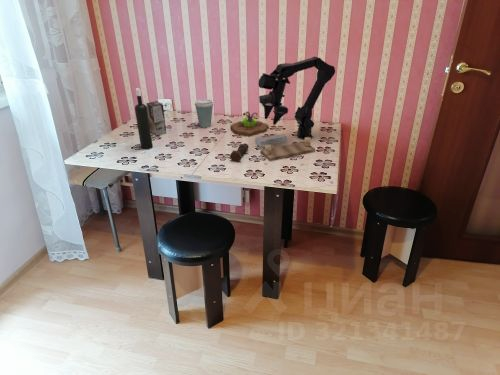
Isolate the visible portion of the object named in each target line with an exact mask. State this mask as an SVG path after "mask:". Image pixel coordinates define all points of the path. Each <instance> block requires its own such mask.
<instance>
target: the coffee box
mask: <svg viewBox="0 0 500 375" xmlns="http://www.w3.org/2000/svg"><path fill="white" fill-rule="evenodd" d="M145 105H146V106H147V111H148V118H149V124H150V131H151V133H153V134H154V135H155V136H159V135H164V134H167V125H166V117H165V111H164V104H162V103H161V102H159V101H156V100H155V101H152V102H145Z"/></svg>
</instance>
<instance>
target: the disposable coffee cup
mask: <svg viewBox="0 0 500 375" xmlns="http://www.w3.org/2000/svg"><path fill="white" fill-rule="evenodd" d="M194 106H195V110H196V115H197V120H198V126H199V127H200V128H203V129H204V128H210V127H211V124H212V120H213V118H212V117H213V106H214V101H213V100H212V99H207V98H206V99H205V98H204V99H199V100H196V101H195V102H194Z"/></svg>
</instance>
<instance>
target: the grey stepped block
mask: <svg viewBox="0 0 500 375" xmlns="http://www.w3.org/2000/svg"><path fill="white" fill-rule="evenodd" d="M254 139H255V140H254V144H256V145H257V146H258V147H259V148H265V145H271V146H272V145H275V144H280V143H286V142H287V141H288V135H287V134H285V133H279V134H275V135H269V136H259V137H255V138H254Z"/></svg>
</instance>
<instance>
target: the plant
mask: <svg viewBox="0 0 500 375" xmlns="http://www.w3.org/2000/svg"><path fill="white" fill-rule="evenodd" d="M242 115H243V116H246V118H245V117H242V118H241V119H242V120H240V121H239V120H238V121H237V122H235V123H232V124H231V125H230V127H229V128H230V130H231V132H232V133H233V134H236V135H238V136H245V137H253V136H256V135H260V134H264V133H266V132H268V130H269V127H270V125H269V124H268V123H265V122H263V121H260V120H258V119H257V120H256V118H255V117H254V115H255V116H259V113H258V112H253V113H252V114H250V112H249V111H245V112H243V113H242Z"/></svg>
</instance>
